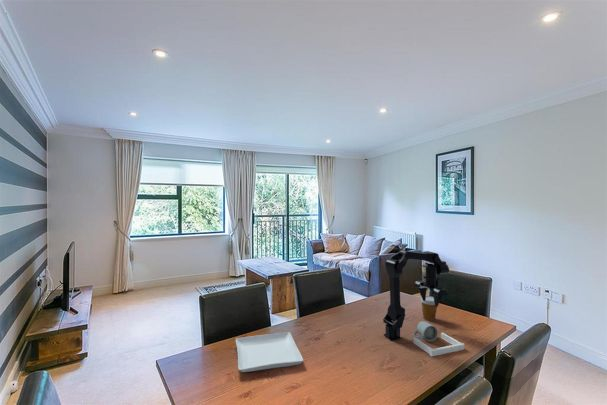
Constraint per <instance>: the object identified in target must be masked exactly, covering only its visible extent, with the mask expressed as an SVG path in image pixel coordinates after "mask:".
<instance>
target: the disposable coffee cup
mask: <svg viewBox="0 0 607 405" xmlns="http://www.w3.org/2000/svg"><path fill="white" fill-rule="evenodd" d="M420 297H421V296H420ZM420 302H421V309H422V310H421V311H422V316H423V319H424V321H426V322H434V321H435V320H436V316H437V315H436V314H437V308H438V307H435V303H434V297H433V296H430V295H428V296H427V295H426V299H425V301H423V299H422V297H421V298H420Z"/></svg>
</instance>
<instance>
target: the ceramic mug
mask: <svg viewBox="0 0 607 405" xmlns="http://www.w3.org/2000/svg"><path fill="white" fill-rule="evenodd" d="M438 332H439V331H438V329H437V326H434V325H433V324H431V323H430V322H429V321H426V320H421V321H420V322H419V323H417V326H416V330H415V331H414V332H413V333H412V336H413V339H414V338H417V339H418V340H422V339H424V340H425V341H427V342H433V341H435V340H436V339H437V337H438V336H439V333H438ZM418 334H419V335H418ZM416 335H417V336H416Z"/></svg>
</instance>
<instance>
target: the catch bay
mask: <svg viewBox="0 0 607 405" xmlns="http://www.w3.org/2000/svg"><path fill="white" fill-rule="evenodd" d="M440 338H441V339H442V340H444V341H446V342H447V343H449V344H451V345H446V346H442V347H437V348H432V347H430V346H428V345H427V344H426V343H424V342H423V341H421V339H417V338H414V337H413V344H414V345H416V346H417V347H419V348H420V349H421V350H422V351H424V352H426V353H427V354H428V355H429V356H430V357H435V356H441V355H444V354H446V355H447V354H450V353H453V352H459V351H464V350H465V343H463V342H460V341H458V340H457V339H455V338H453V337H451V336H450V335H447V334H446V333H444V332H441V333H440Z"/></svg>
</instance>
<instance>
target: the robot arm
mask: <svg viewBox="0 0 607 405" xmlns="http://www.w3.org/2000/svg"><path fill="white" fill-rule="evenodd" d="M408 260H418V261H424V263H423V264H422V266H421V267H423V268H424V270H425V272H424V275H423V279H424V280H416V281H415V282H414V287H416V289H417V291H418V293H419V294H420V297H422V299H423V301H425V299H426V296H427V291H428V290H430V291H432V293H433V294H432V297H434V303H435V307H437V308H438V307H439V304H440V302H441V300H442V298H443V297H446V296H448V292H449V291H448V290H447V289H445V288H446V282H444V281H441V280H440V278H439V277H437V276H438V275H446V274H449V272H450V268H449V266H448V264H447V262H446V261H445V260H444V261H442V259H441V258H440V255H439V253H437V252H434V251H428V250H425V251H422V252H419V251H411V250H404V249H402V250H400V251H399V252H397V253H395V254H393V255H392V256H390V257H389V258H388V259H387V260H386V261H385V264H384V265H385V270H386V273H387V275H388V278H389V302H390V303H389V305H388V307H387V313H386V314H385V316H384V317H383V318H382V321H383V323H384V324H385V333H383V336H384V337H385V338H386V339H388V340H389V341H391V342H392V341H397V340H401V339H402V336H401V328H403V324H404V321H405V317H406V309H405V307H403V306H402V305H401V284H400V280H401V279H400V278H401V275H402V274H403V268H405V266H406V265H407V263H408Z"/></svg>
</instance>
